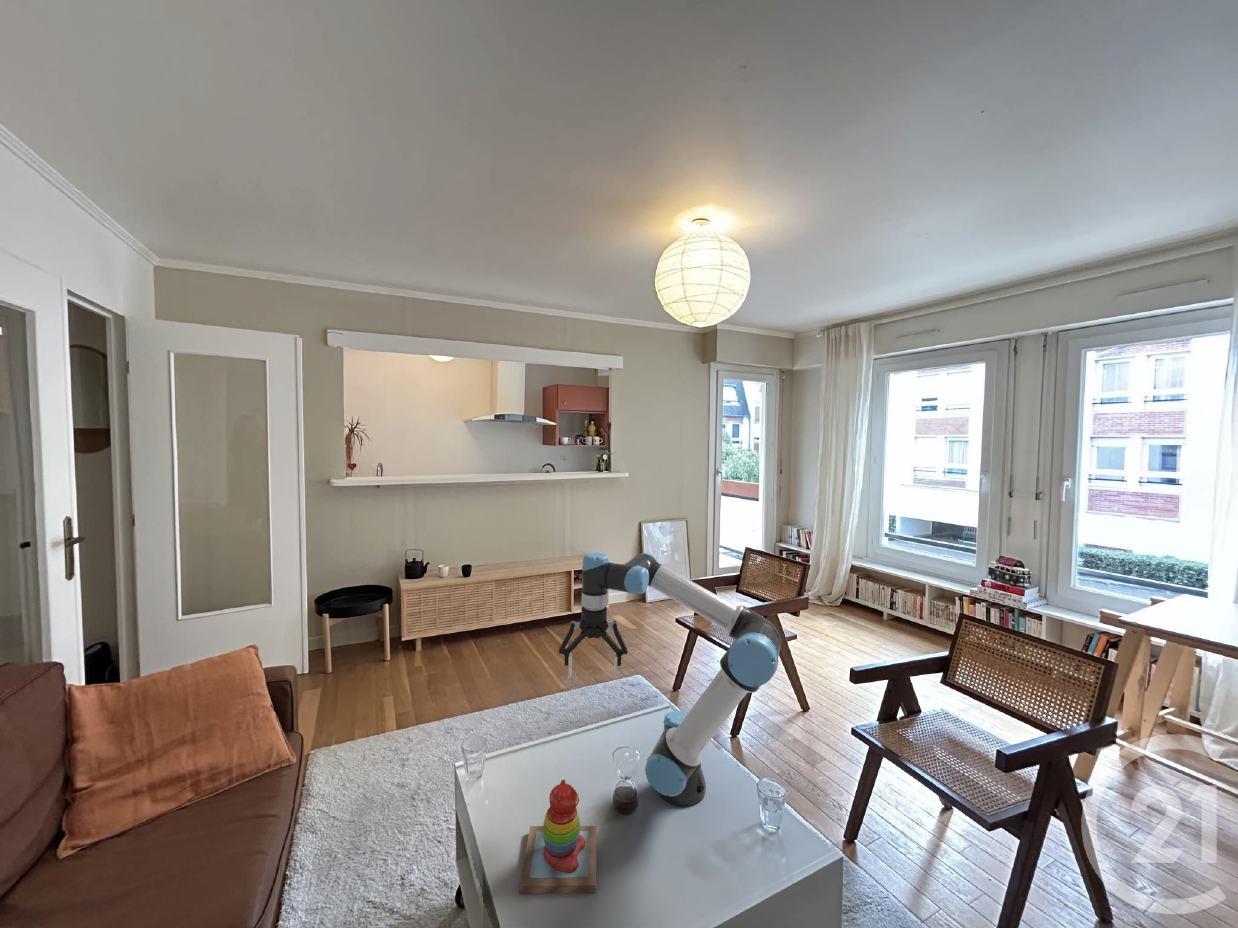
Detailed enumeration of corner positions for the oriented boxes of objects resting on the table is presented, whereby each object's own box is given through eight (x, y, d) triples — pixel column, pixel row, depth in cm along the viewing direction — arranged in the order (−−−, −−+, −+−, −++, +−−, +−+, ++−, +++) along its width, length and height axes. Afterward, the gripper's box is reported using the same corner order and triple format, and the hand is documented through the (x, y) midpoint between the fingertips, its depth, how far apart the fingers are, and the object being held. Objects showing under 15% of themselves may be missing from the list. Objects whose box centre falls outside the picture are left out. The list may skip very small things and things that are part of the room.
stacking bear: (575, 875, 123) (577, 805, 122) (536, 866, 125) (537, 798, 124) (587, 839, 134) (588, 775, 132) (550, 832, 136) (551, 769, 134)
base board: (596, 832, 139) (596, 824, 139) (595, 892, 121) (596, 884, 121) (530, 832, 138) (530, 825, 138) (519, 893, 120) (519, 885, 120)
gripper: (635, 602, 154) (633, 669, 155) (552, 601, 153) (551, 669, 154) (637, 611, 146) (635, 682, 148) (550, 610, 145) (549, 681, 147)
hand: (592, 675), depth 151 cm, fingers open, 13 cm apart
